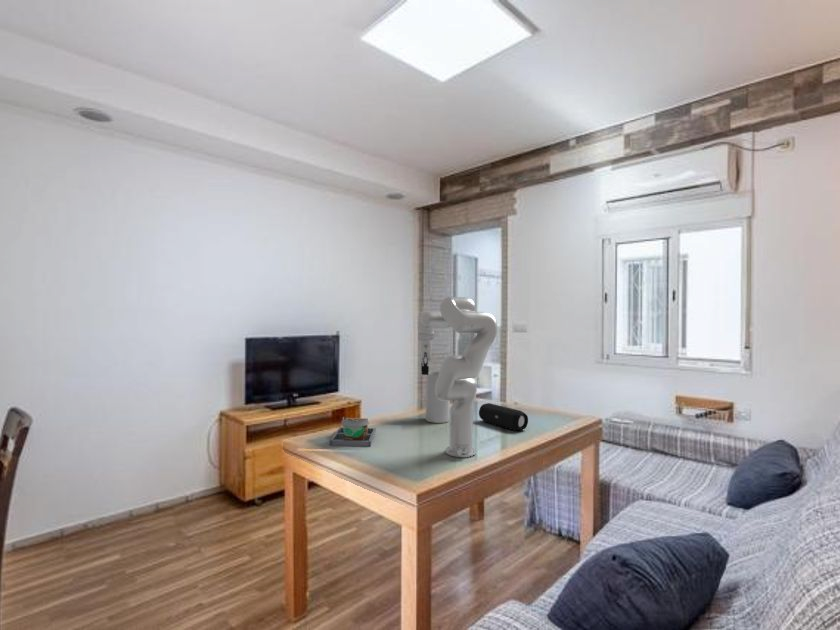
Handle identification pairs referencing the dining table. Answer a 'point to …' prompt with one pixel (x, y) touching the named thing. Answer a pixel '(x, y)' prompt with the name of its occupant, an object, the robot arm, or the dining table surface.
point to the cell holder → (339, 440)
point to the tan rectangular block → (360, 420)
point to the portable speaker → (503, 416)
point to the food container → (354, 429)
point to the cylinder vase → (435, 402)
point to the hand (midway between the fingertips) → (424, 373)
